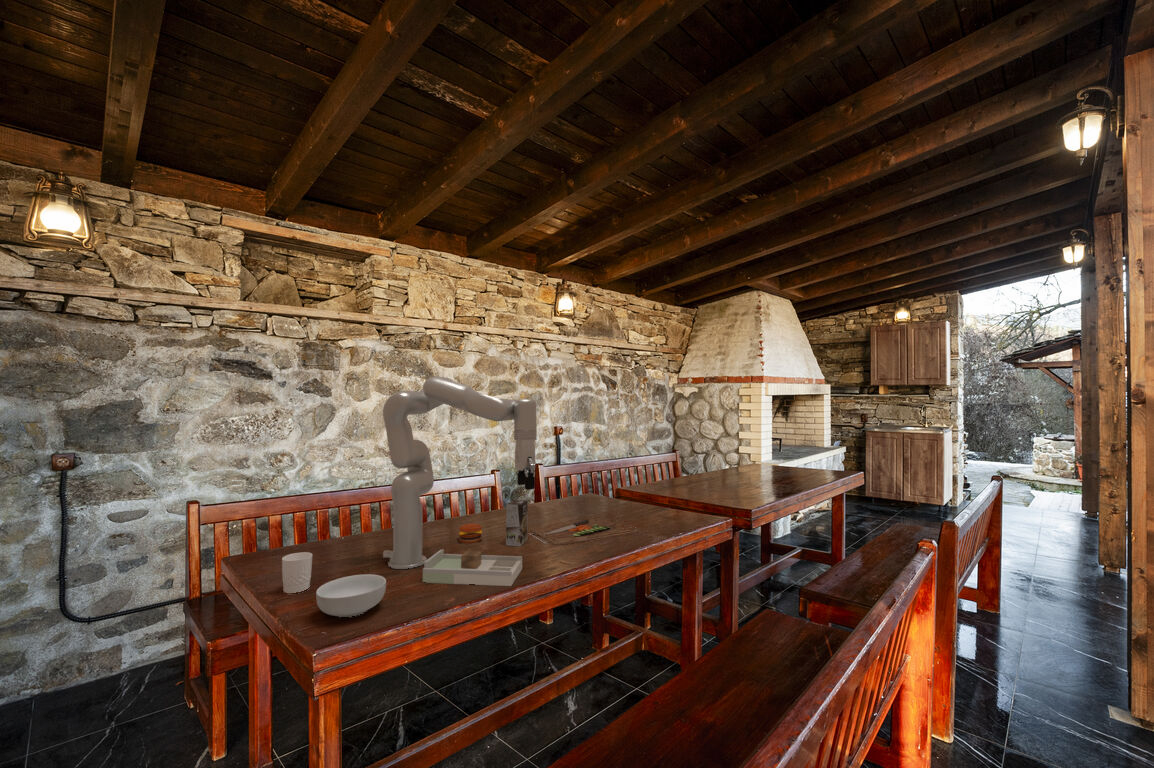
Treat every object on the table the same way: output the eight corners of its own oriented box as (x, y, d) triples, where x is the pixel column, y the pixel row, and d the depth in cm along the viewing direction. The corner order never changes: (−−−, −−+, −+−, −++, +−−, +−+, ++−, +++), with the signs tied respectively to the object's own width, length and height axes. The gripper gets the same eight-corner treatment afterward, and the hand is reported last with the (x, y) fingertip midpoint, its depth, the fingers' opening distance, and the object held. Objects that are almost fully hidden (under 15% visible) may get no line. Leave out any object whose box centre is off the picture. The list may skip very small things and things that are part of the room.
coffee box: (521, 546, 184) (521, 504, 185) (505, 545, 185) (505, 504, 186) (528, 540, 193) (528, 500, 193) (513, 539, 194) (513, 499, 195)
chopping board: (550, 549, 182) (550, 541, 183) (523, 532, 206) (523, 525, 206) (645, 533, 204) (644, 526, 204) (611, 520, 227) (611, 513, 228)
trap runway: (422, 582, 147) (422, 563, 147) (441, 566, 162) (442, 548, 162) (510, 586, 144) (510, 566, 144) (522, 569, 159) (522, 550, 159)
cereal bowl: (372, 593, 139) (373, 569, 139) (395, 611, 127) (396, 584, 127) (307, 611, 127) (308, 584, 127) (326, 632, 115) (326, 603, 115)
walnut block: (461, 568, 151) (461, 555, 151) (466, 563, 156) (466, 550, 156) (476, 569, 150) (476, 556, 150) (481, 563, 155) (481, 551, 155)
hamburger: (459, 544, 187) (459, 527, 188) (458, 538, 196) (458, 522, 197) (483, 542, 190) (483, 525, 190) (481, 536, 199) (481, 520, 200)
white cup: (289, 597, 136) (290, 562, 137) (275, 592, 140) (276, 557, 141) (317, 588, 143) (317, 554, 143) (303, 583, 147) (303, 550, 147)
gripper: (508, 434, 166) (509, 483, 165) (521, 437, 150) (521, 492, 149) (529, 434, 169) (529, 482, 168) (543, 436, 153) (544, 490, 152)
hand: (525, 486), depth 159 cm, fingers open, 9 cm apart
